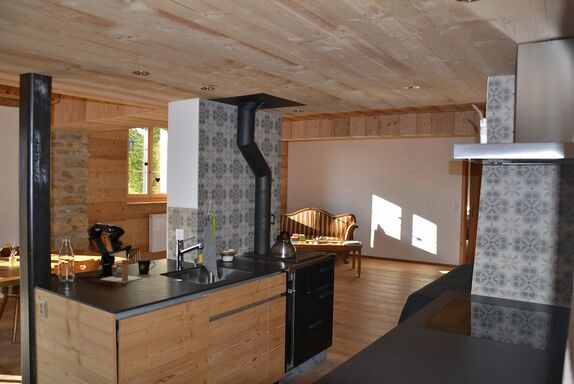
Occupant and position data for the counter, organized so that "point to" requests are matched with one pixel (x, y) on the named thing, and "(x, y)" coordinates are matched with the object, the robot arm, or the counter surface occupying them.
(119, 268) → the button
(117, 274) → the board
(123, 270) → the marker
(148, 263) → the coffee mug
